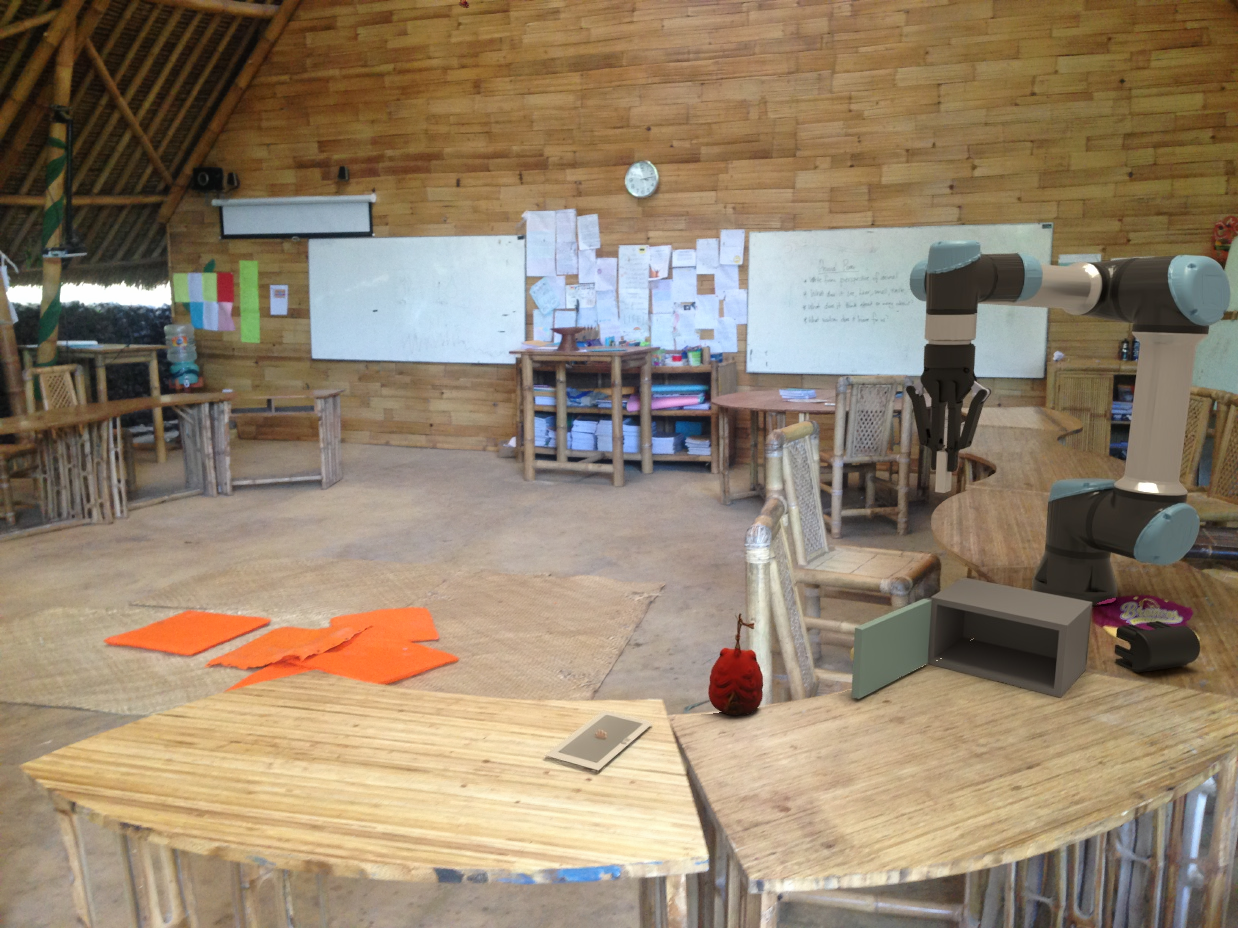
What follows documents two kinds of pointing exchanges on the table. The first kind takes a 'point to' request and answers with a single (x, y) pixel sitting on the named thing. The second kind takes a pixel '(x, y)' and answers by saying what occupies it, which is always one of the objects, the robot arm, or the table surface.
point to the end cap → (1156, 647)
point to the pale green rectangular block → (890, 647)
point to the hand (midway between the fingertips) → (943, 490)
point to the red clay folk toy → (736, 679)
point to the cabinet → (1010, 635)
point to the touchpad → (599, 739)
